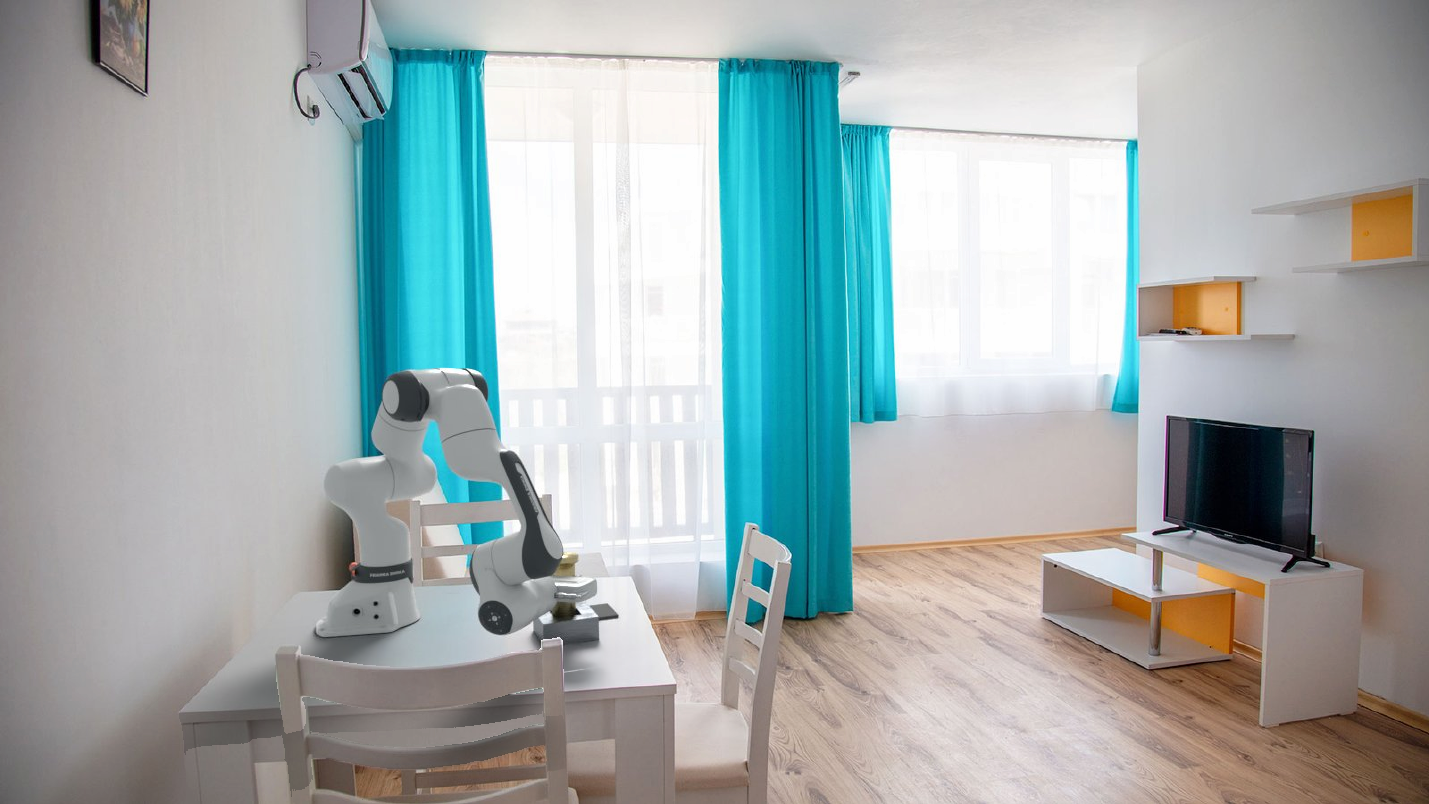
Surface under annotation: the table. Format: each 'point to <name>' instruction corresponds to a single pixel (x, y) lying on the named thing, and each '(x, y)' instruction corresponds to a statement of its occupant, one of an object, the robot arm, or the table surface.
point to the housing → (569, 626)
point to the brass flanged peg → (565, 570)
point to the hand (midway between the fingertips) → (565, 577)
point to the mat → (604, 611)
